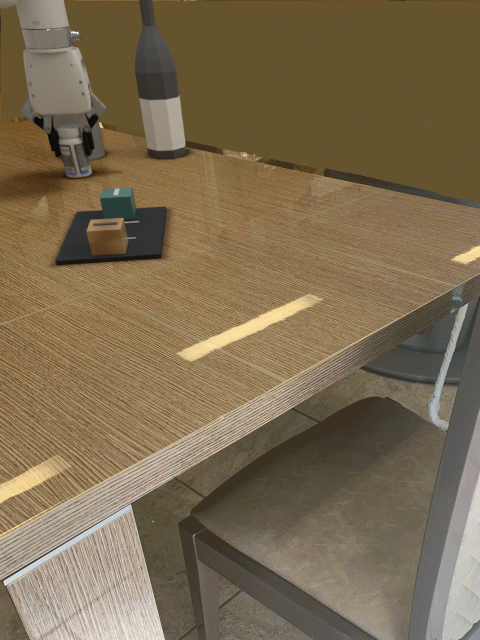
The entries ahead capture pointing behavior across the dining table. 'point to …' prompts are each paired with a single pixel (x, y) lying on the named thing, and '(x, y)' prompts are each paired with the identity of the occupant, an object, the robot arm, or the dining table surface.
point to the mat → (140, 233)
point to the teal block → (118, 203)
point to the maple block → (107, 236)
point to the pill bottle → (73, 151)
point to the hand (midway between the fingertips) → (74, 153)
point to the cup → (95, 130)
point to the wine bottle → (158, 90)
